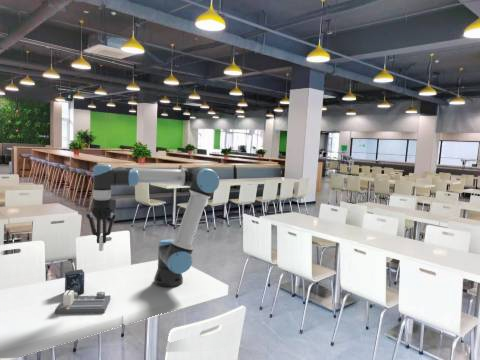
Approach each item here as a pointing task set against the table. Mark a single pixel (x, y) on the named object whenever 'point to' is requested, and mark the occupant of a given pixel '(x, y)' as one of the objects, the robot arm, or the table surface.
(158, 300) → the table surface
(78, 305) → the console
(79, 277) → the box
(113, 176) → the robot arm
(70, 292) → the block
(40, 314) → the table surface
